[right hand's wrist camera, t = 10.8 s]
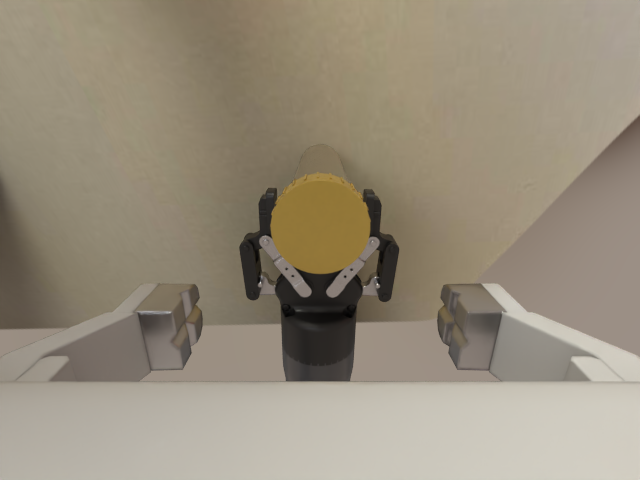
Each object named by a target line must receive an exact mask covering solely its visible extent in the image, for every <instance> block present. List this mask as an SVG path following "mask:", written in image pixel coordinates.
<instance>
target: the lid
mask: <svg viewBox="0 0 640 480" xmlns="http://www.w3.org/2000/svg"><path fill="white" fill-rule="evenodd" d="M275 204H277V205H276V207H274V209H273V211H272V214H271V215H272V219H271V225H270V227H271V235H272V239H273V242H274V245H275V247H276V249H277V250H278V252H279V253H280V255H281V256H282V257H283V258H284V259H285V260H286V261H287V262H288V263H289V264H291V265H292V266H294V267H295V268H297V269H300V270H302V271H305V272H308V273H313V274H327V273H333V272H336V271H339V270H342V269H344V268H346V267H347V266H349V265H350V264H352V263H353V262H354V261H355V260H356V259H357V258H358V257H359V256H360V255H361V254H362V252H363V251H364V249H365V247H366V245H367V243H368V239H369V236H370V222H371V220H370V218H369V214H368V207H367V205H366V203H365V202H363V197H362V195H361V193H360V192H358V191H357V190H356V189H355V188H354V186H353V184H352V183H351V184H350V183H348V182H347V181H346V180H344V179H343V177H341V178H340V177H337V176H335V175H332V174H331V173H329V174H324V173H319V172H317V174H310V175H307V174H305V176H304V177H301V178H299V179H297V180H296V179H294V181H293V183H291V184H290V185H289V186H288V187H285V188H284V190H283V193H282V195H281V196H279V197H278V199H277V201H276V203H275Z"/></svg>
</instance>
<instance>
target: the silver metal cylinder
mask: <svg viewBox="0 0 640 480" xmlns="http://www.w3.org/2000/svg"><path fill="white" fill-rule="evenodd" d="M317 172H319V173H324V174H329V173H331V174H332V175H335V176H337V177H340V178H341V177H343V179H344V180H346V181H347V182H348V183H349V181H348V178H347V176H346V173H345V170H344V168H343V165H342V163H341V160H340V157H339V155H338V154H337V152H336V151H335V150H334V149H333V148H331V147H330V146H327V145H323V144H318V145H314V146H311V147H310V148H308V149H307V150H306V151H305V152H304V154H303V155H302V158H301V160H300V163H299V165H298V168H297V171H296V173H295V176H294V178H293V181H294V179H296V180H297V179H299V178H301V177H304V176H305V174H307V175H310V174H317ZM293 181H292V183H293Z"/></svg>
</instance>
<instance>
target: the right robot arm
mask: <svg viewBox="0 0 640 480" xmlns="http://www.w3.org/2000/svg"><path fill="white" fill-rule="evenodd" d="M198 300H199V292H198V288H197V286H196V285H195V284H160V283H152V284H141V285H140V286H139V287H138V288H137V289H136V290H135V291H134V292H133V293H132V294H131V295H130V296H129V297H128V298H126V299H125V300H124V301H123V302H122V303H121V304H120V305H119V306H118V307H117V308H116V309H115V310H114V311H113V312H106V313H104V314H102V315H99V316H97V317H94V318H92V319H89V320H87V321H85V322H82V323H80V324H77V325H75V326H72V327H70V328H68V329H65V330H63V331H60V332H58V333H55V334H53V335H51V336H48V337H46V338H43V339H41V340H39V341H36V342H34V343H31V344H29V345H27V346H24V347H22V348H19V349H17V350H14V351H12V352H9V353H7V354H5V355H3V356H2V357H1V358H0V480H640V357H638V356H637V355H635V354H633V353H630V352H628V351H625V350H623V349H621V348H618V347H616V346H613V345H611V344H608V343H606V342H604V341H601V340H599V339H596V338H594V337H592V336H589V335H587V334H584V333H582V332H580V331H577V330H575V329H572V328H570V327H567V326H565V325H563V324H560V323H558V322H555V321H553V320H550V319H548V318H546V317H543V316H541V315H538V314H536V313H533V312H527V311H526V310H525V309H524V308H523V307H522V306H521V305H520V304H519V303H518V302H517V301H516V300H515V299H514V298H513V297H512V296H510V295H509V294H508V293H507V292H506V291H505V290H504V289H503V288H502V287H501V286H500V285H499V284H496V283H489V284H447V285H444V286H443V288H442V291H441V300H442V301H443V303H444V304H445V305H444V306H443V307H442V308H441V309H440V310H439V311H438V320H437V322H438V331H439V335H440V337H441V339H442V341H443V343H445V344H446V345H448V346H449V355H450V357H451V359H452V360H453V362H454V364H455V366H456V368H457V370H488V371H489V372H490V373H491V374H492V375H494V376H495V377H496V378H498V379H499V380H500V381H205V382H204V381H158V382H157V381H140V380H141V379H143V378H144V377H145V376H146V375H148V374H149V373H150V372H151V371H152V370H182V369H183V368H184V366H185V364H186V362H187V360H188V359H189V357H190V355H191V346H192V345H194V344H195V343H197V341H198V339H199V337H200V335H201V330H202V311H201V310H200V309H199V308H198V307H197V306H196V305H195V304H196V303H197V301H198Z"/></svg>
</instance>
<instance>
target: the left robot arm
mask: <svg viewBox="0 0 640 480" xmlns="http://www.w3.org/2000/svg"><path fill="white" fill-rule="evenodd" d="M276 201H277V189H276V188H268V189H267V191H266V194H263V196H262V197H261V199H260V202H259V219H260V231H258V232H255V233H248V234H247V235H246V236H245V238H244V240H243V242H242V243H241V245H240V247H239V248H240V255H241V262H242V269H243V275H244V282H245V289H246V295H247V298H248V299H250V300H256V299H258V297H259V295H269V294H276V295H277V297H278V298H279V300H280V303H281V325H282V350H283V367H284V372H285V377H286V381H350V377H351V373H352V368H353V360H354V344H355V326H356V309H357V302H358V300H359V299H360V297H361V296H362V295H369V296H378V297H379V300H380V301H382V302H387V301H389V300H390V299H391V295H392V289H393V283H394V277H395V271H396V265H397V259H398V254H399V247H398V245H397V244H396V242H395V240H394V238H393V237H392V236H391V235H388V234H387V235H385V234H382V233H380V232H379V231H380V218H381V203H380V200H379V198H378V197H377V196H375V195H374V192H373V190H372V189H364V193H363V202H365V203H366V205H367V207H368V214H369V218H370V220H371V222H370V236H369V239H368V243H367V245H366V247H365V249H364V251H363V252H362V254H361V255H360V256H359V257H358V258H357V259H356V260H355V261H354V262H353V263H352V264H350V265H349V266H347V267H346V268H344V269H342V270H339V271H336V272H333V273H327V274H313V273H308V272H305V271H302V270H300V269H297V268H295V267H294V266H292V265H291V264H289V263H288V262H287V261H286V260H285V259H284V258H283V257H282V256H281V255H280V253H279V252H278V250H277V249H276V247H275V245H274V242H273V239H272V235H271V227H270V225H271V219H272V215H271V214H272V211H273V209H274V207H276V205H277V204H275V203H276ZM261 248H263V249H264V250H265V251H266V252H267V253H268V255H269V256H270V257H271V258H272V259H273V262H274V264H275V266H276V267H277V268H278V269H279V270H280V272H281V273H282V274H281V275H280V276H279V278H278V279H277V281H276V282H275V281H272V280H271V279H270V278H269V275H268V274H267V273H266V272H262V269H261V262H260V254H259V249H261ZM376 249H377V250H380V251H379V258H378V265H377V272H376V273H372V274H371V275H370V276H369V279H368V280H367V281H366V282H361V280H360V278H359V277H358V276H357V273H358V271H359V270H360V269H361V268H362V267H363V266H364V264H365V261H366V260H367V258H368V257H369V256H370V255H371V254H372V253H373V252H374V251H375V250H376Z"/></svg>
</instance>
